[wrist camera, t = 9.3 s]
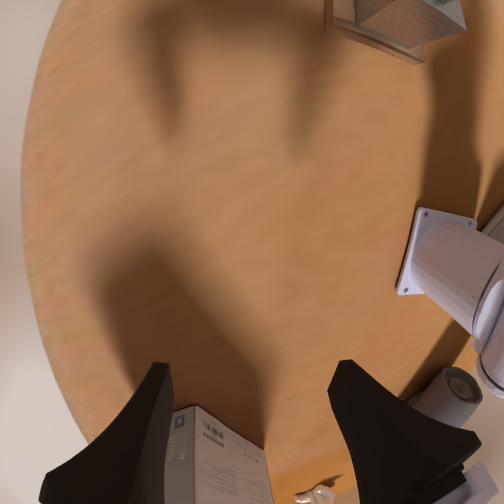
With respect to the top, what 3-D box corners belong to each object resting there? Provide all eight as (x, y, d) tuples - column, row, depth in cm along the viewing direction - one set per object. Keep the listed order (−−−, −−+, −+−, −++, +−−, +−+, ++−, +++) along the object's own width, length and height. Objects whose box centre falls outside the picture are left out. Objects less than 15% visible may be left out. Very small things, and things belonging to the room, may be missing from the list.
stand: (406, -9, 11) (414, -14, 10) (413, 65, 15) (424, 62, 13) (325, -42, 10) (331, -50, 9) (325, 31, 14) (333, 24, 12)
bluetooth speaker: (386, 444, 37) (405, 481, 27) (348, 453, 35) (365, 496, 26) (459, 358, 29) (494, 399, 20) (425, 363, 27) (464, 414, 18)
